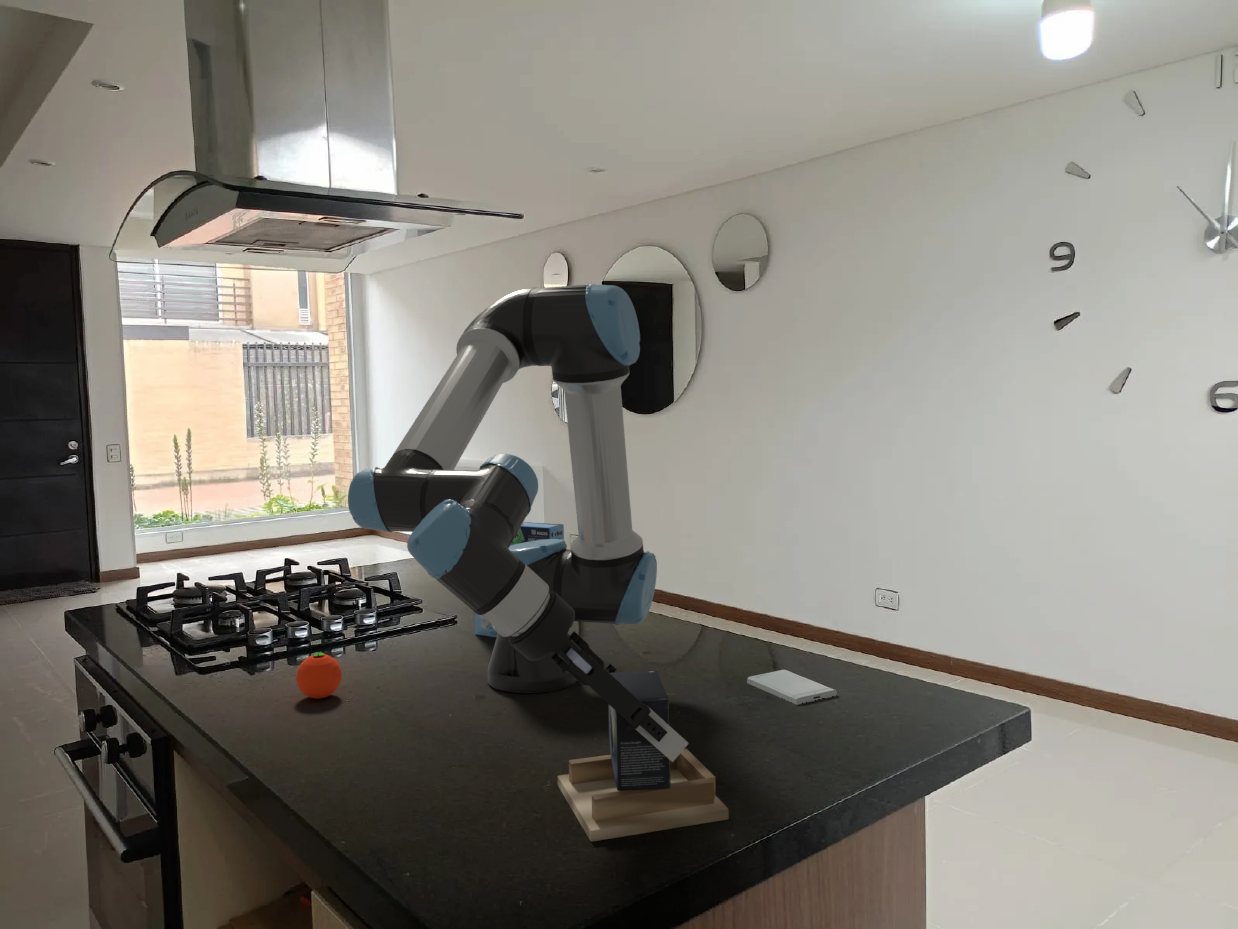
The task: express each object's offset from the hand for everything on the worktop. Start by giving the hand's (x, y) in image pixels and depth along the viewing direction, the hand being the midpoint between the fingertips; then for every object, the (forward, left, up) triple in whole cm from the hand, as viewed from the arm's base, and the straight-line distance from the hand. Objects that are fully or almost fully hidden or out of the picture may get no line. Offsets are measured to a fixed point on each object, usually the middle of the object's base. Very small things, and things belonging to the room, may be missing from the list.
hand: (661, 733), depth 108 cm
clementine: (-53, -39, -8) cm, 66 cm away
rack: (0, -3, -8) cm, 8 cm away
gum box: (-77, -2, -8) cm, 77 cm away
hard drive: (-31, +33, -9) cm, 46 cm away
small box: (0, -3, -4) cm, 5 cm away
